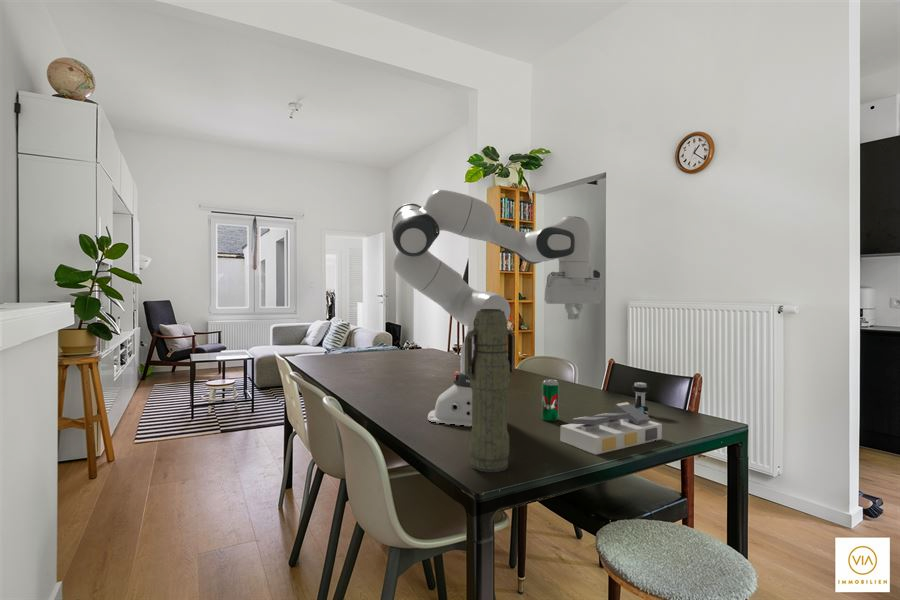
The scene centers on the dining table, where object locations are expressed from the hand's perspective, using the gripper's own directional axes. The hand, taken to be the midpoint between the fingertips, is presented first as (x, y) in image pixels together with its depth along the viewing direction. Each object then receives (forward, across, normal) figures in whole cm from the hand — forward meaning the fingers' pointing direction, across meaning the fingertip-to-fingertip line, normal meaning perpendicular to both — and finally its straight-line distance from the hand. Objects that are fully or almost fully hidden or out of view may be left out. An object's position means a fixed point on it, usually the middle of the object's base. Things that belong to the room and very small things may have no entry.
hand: (573, 319), depth 137 cm
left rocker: (+25, -10, -16) cm, 31 cm away
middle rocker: (+25, -2, -16) cm, 30 cm away
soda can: (+31, -2, +7) cm, 32 cm away
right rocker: (+25, +6, -16) cm, 30 cm away
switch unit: (+31, -2, -16) cm, 35 cm away
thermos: (+31, -41, -15) cm, 53 cm away
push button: (+31, +28, -3) cm, 42 cm away
